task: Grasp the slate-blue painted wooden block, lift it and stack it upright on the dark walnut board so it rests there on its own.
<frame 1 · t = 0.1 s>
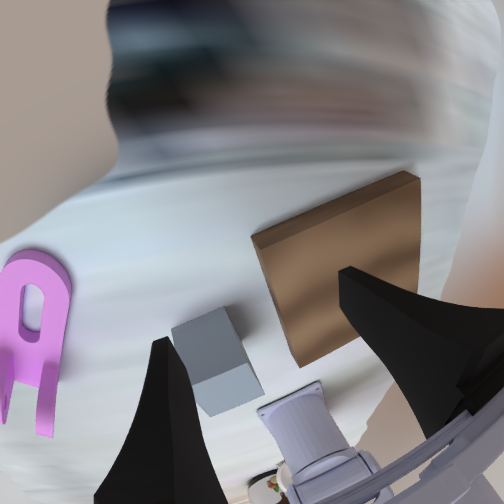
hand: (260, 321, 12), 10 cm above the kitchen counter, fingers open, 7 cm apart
slate block: (207, 335, 25), on the kitchen counter
bracket: (33, 320, 20), on the kitchen counter
walnut board: (347, 270, 27), on the kitchen counter
spread jar: (273, 471, 47), on the kitchen counter
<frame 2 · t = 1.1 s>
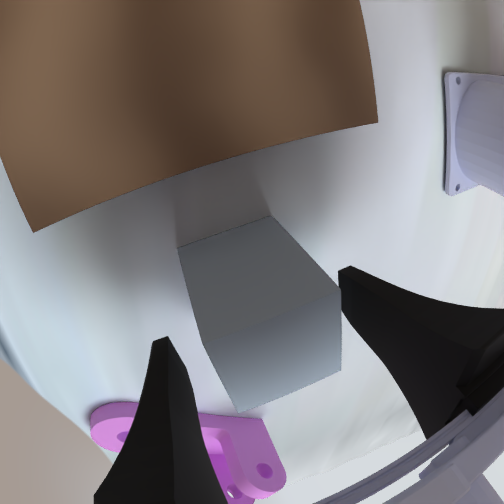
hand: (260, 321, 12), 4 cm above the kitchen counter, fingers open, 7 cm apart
slate block: (236, 270, 15), on the kitchen counter
bracket: (174, 426, 21), on the kitchen counter
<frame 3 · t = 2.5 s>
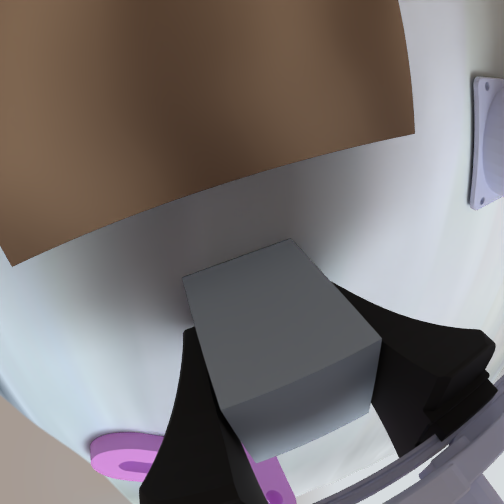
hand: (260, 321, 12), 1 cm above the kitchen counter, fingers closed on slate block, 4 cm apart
slate block: (249, 300, 13), on the kitchen counter, touching gripper
bracket: (178, 452, 19), on the kitchen counter
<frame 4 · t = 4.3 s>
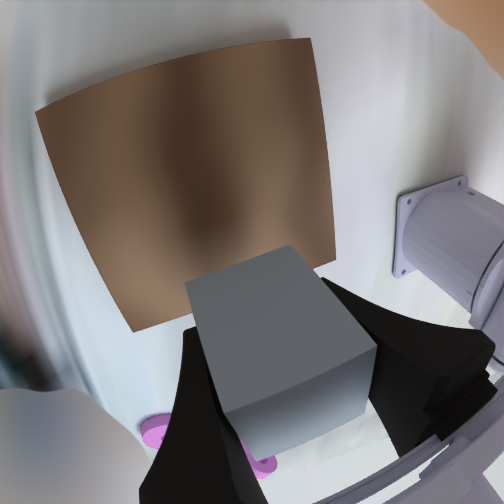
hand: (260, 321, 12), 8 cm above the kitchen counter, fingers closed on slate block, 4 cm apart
slate block: (249, 303, 14), point 7 cm above the kitchen counter, touching gripper
bracket: (198, 429, 30), on the kitchen counter
walnut board: (201, 182, 18), on the kitchen counter
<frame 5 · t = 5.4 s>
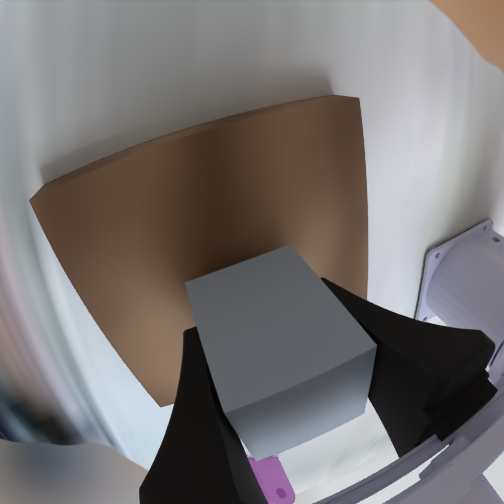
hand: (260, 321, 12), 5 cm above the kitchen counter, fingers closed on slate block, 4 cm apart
slate block: (249, 303, 14), point 3 cm above the kitchen counter, touching gripper
bracket: (218, 466, 29), on the kitchen counter
walnut board: (229, 262, 16), on the kitchen counter
when the fingers open (4 cm above the kitchen counter, at t = 6.4 s): slate block stays where it is, resting on walnut board.
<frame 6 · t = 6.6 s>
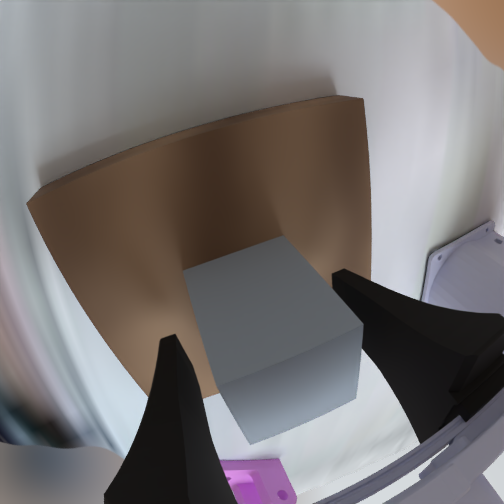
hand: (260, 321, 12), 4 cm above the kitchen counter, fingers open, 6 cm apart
slate block: (245, 293, 14), point 2 cm above the kitchen counter, touching walnut board
bracket: (219, 468, 28), on the kitchen counter
walnut board: (231, 265, 16), on the kitchen counter
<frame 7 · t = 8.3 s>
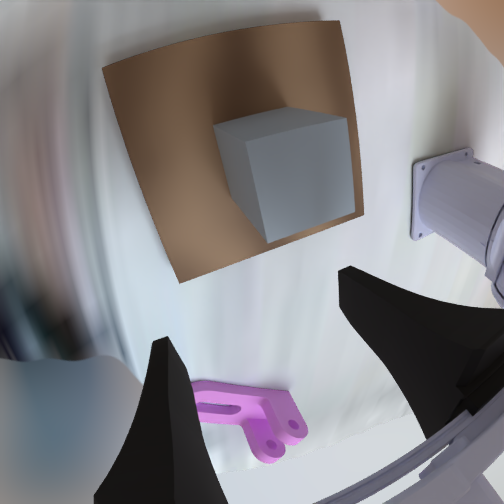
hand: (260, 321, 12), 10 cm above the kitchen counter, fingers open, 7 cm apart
slate block: (259, 151, 18), point 2 cm above the kitchen counter, touching walnut board
bracket: (228, 398, 32), on the kitchen counter
walnut board: (247, 141, 19), on the kitchen counter
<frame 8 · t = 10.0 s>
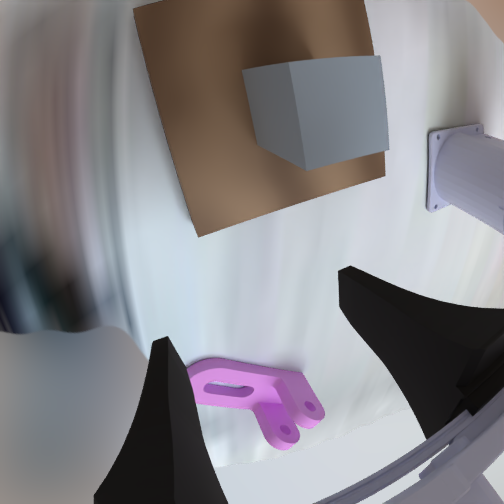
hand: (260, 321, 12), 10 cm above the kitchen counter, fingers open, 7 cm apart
slate block: (286, 100, 17), point 2 cm above the kitchen counter, touching walnut board
bracket: (240, 380, 31), on the kitchen counter
walnut board: (271, 93, 18), on the kitchen counter
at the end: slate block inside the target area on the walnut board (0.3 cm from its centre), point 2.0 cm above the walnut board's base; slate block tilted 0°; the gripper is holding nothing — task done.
